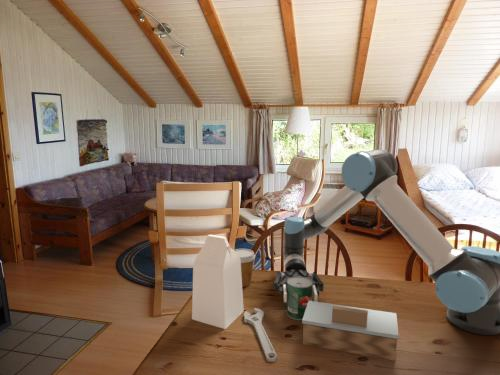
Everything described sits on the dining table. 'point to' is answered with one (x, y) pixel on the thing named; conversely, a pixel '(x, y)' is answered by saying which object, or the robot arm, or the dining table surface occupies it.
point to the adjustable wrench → (261, 333)
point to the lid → (351, 319)
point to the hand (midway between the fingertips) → (300, 298)
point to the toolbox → (350, 341)
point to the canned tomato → (298, 296)
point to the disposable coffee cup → (246, 265)
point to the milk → (217, 283)
